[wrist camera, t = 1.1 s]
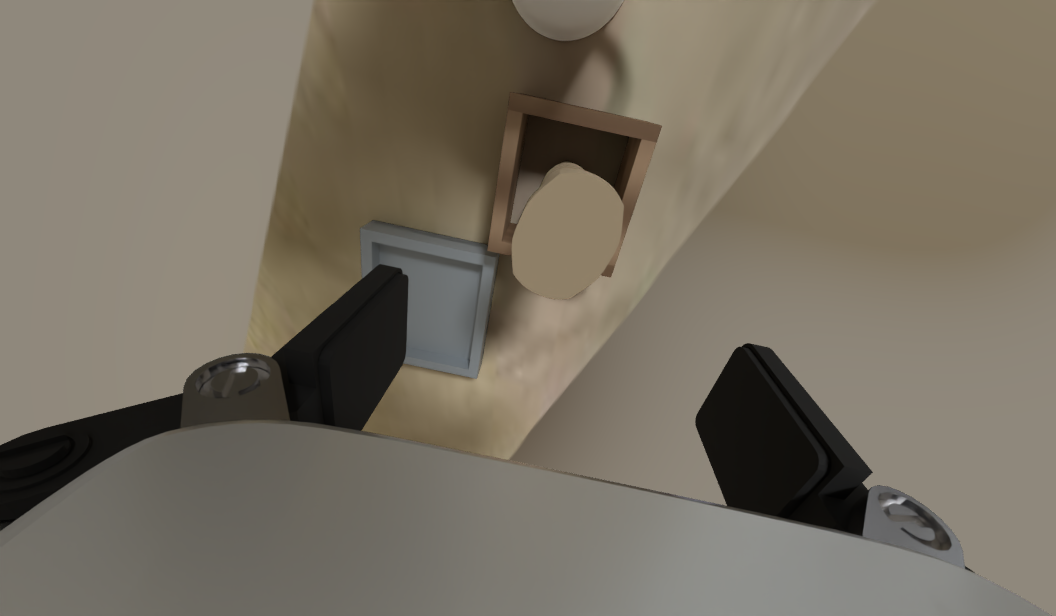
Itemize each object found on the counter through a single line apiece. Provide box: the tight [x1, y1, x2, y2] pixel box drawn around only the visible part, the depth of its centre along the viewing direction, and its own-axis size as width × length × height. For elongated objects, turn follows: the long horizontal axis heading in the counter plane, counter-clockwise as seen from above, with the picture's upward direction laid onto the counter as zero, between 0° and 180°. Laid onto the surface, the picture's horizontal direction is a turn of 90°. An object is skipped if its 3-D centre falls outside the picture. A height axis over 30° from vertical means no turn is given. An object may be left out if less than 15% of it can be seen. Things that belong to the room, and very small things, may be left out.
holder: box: [487, 92, 662, 277], centre depth 29 cm, size 11×10×5 cm
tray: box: [360, 220, 500, 379], centre depth 37 cm, size 14×12×2 cm
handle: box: [512, 161, 624, 299], centre depth 24 cm, size 5×6×15 cm
